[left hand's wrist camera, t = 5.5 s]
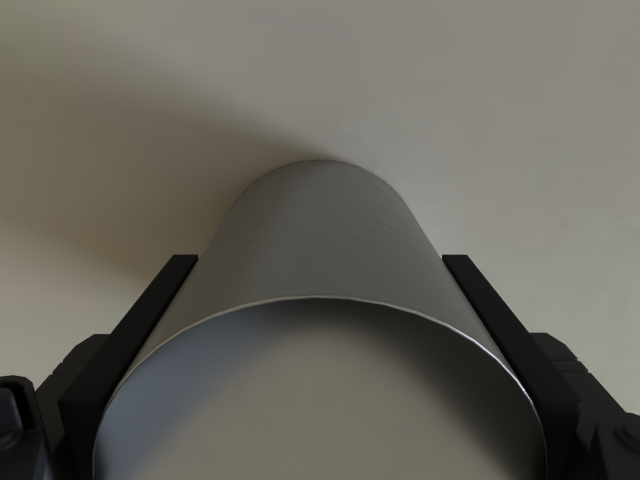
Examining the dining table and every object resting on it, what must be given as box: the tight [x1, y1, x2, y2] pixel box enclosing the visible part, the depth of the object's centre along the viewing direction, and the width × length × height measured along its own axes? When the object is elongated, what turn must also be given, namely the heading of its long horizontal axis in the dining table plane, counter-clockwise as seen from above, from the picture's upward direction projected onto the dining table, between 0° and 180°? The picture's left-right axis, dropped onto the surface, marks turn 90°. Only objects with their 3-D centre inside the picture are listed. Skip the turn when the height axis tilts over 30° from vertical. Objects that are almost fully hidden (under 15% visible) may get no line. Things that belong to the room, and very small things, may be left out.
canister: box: [93, 160, 548, 480], centre depth 12 cm, size 8×8×10 cm
